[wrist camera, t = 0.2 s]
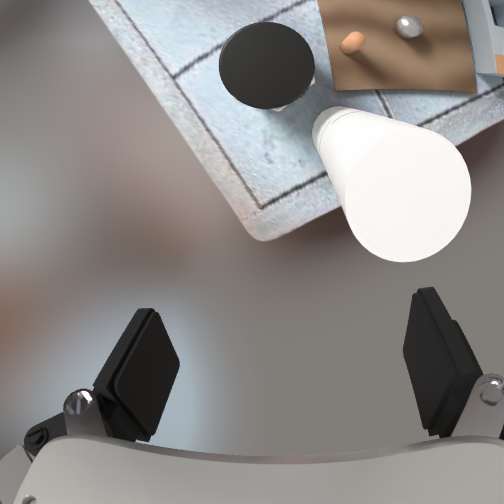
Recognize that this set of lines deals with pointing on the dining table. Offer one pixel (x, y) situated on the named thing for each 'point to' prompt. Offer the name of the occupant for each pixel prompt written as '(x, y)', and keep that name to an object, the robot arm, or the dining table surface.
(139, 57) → the dining table surface
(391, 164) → the cylindrical container
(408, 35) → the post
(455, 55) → the board
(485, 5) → the slotted bar
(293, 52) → the jar
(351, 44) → the pin
